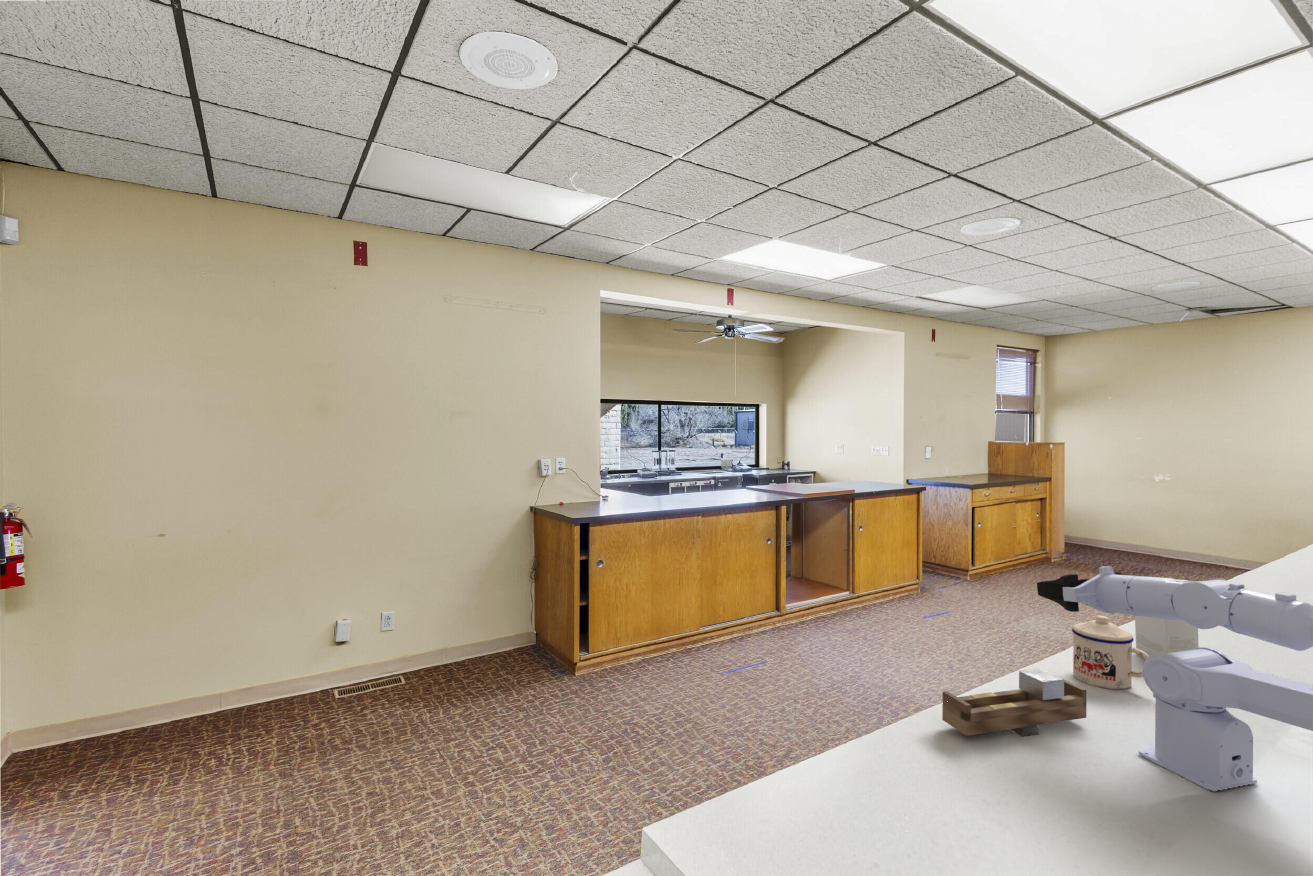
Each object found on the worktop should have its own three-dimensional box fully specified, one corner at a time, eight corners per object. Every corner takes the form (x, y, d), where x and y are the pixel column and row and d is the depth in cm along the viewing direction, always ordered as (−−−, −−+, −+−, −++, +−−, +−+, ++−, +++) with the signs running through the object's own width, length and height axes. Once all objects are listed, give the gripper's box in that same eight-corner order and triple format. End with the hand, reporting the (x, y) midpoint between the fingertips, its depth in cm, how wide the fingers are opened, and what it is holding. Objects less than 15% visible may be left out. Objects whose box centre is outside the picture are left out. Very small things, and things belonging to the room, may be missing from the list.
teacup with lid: (1062, 677, 113) (1062, 614, 113) (1085, 666, 118) (1085, 606, 118) (1140, 701, 103) (1141, 632, 103) (1162, 689, 108) (1162, 623, 107)
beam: (1055, 709, 100) (1055, 675, 100) (1089, 727, 94) (1089, 690, 94) (940, 726, 94) (940, 690, 94) (968, 745, 89) (969, 707, 88)
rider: (1039, 694, 98) (1039, 668, 98) (1063, 706, 94) (1064, 679, 94) (1019, 697, 97) (1019, 670, 97) (1042, 709, 93) (1042, 682, 93)
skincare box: (1200, 668, 117) (1200, 587, 117) (1165, 667, 117) (1165, 587, 117) (1164, 652, 125) (1165, 576, 125) (1131, 652, 125) (1132, 576, 125)
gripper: (1173, 566, 92) (1087, 562, 104) (1099, 569, 88) (1020, 564, 101) (1179, 615, 91) (1092, 604, 103) (1105, 620, 87) (1024, 608, 99)
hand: (1057, 587), depth 102 cm, fingers open, 7 cm apart
